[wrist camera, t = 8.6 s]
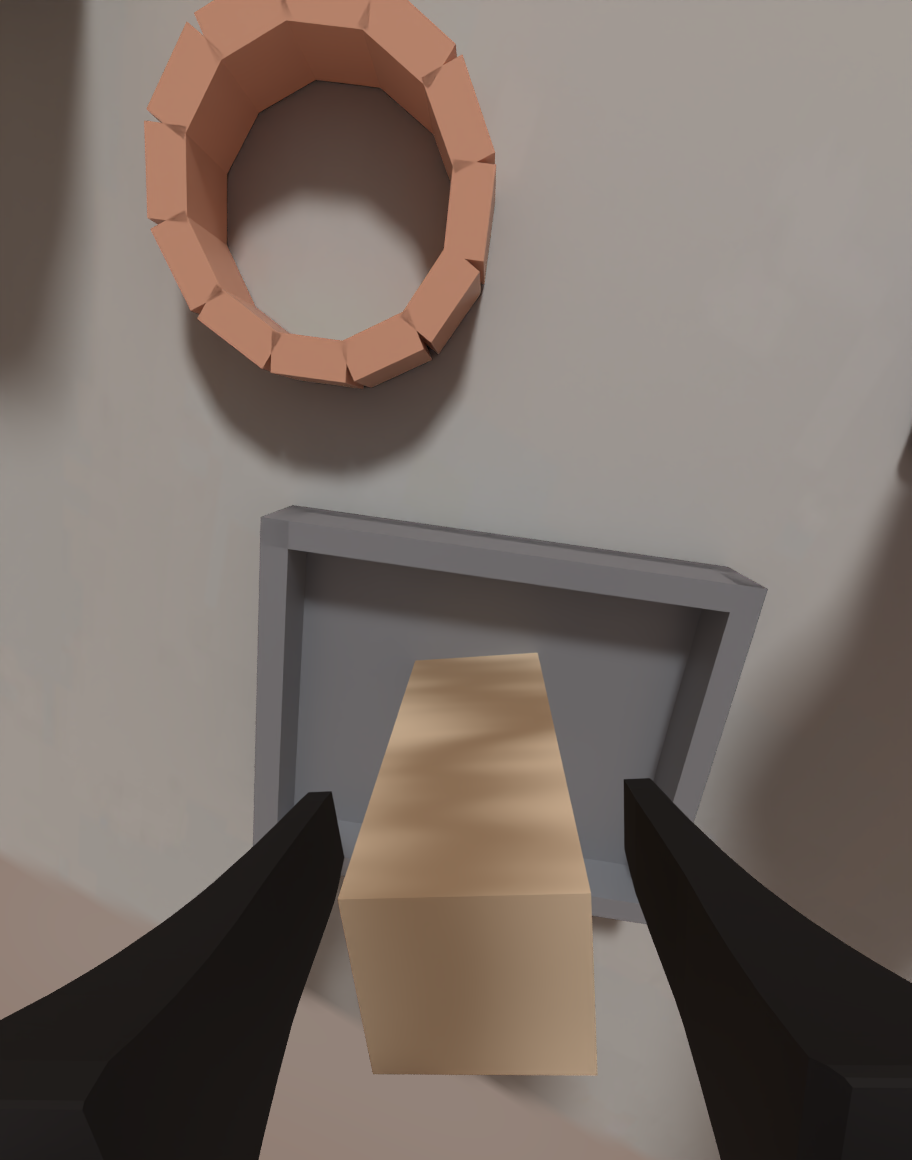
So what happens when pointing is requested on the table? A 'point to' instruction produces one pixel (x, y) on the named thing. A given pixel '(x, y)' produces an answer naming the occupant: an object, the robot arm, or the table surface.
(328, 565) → the tray
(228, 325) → the segmented block ring
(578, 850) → the oak peg
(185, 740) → the table surface
